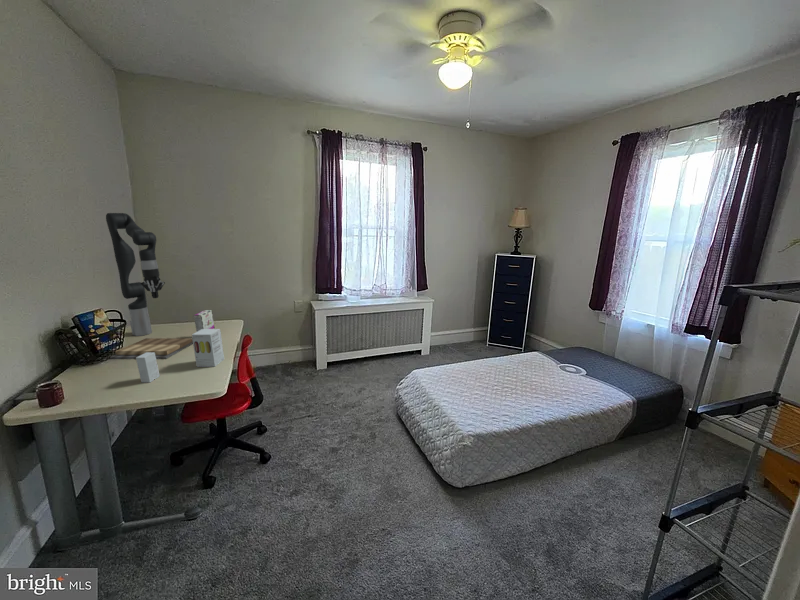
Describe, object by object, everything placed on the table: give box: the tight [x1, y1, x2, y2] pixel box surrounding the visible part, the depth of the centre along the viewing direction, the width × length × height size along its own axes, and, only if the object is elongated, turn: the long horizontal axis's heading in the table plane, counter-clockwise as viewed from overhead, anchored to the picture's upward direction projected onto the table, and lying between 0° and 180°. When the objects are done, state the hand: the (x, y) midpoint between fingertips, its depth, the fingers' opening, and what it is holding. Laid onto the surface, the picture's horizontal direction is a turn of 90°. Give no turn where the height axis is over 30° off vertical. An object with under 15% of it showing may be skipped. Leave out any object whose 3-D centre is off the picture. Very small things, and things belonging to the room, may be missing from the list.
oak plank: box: [115, 344, 180, 355], centre depth 179 cm, size 28×10×2 cm, turn 88°
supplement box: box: [191, 328, 225, 368], centre depth 164 cm, size 10×9×17 cm
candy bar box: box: [193, 309, 216, 332], centre depth 201 cm, size 11×5×16 cm, turn 179°
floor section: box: [109, 337, 193, 360], centre depth 184 cm, size 30×24×3 cm
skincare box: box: [135, 352, 161, 383], centre depth 148 cm, size 6×4×12 cm
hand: (155, 297), depth 191 cm, fingers closed
